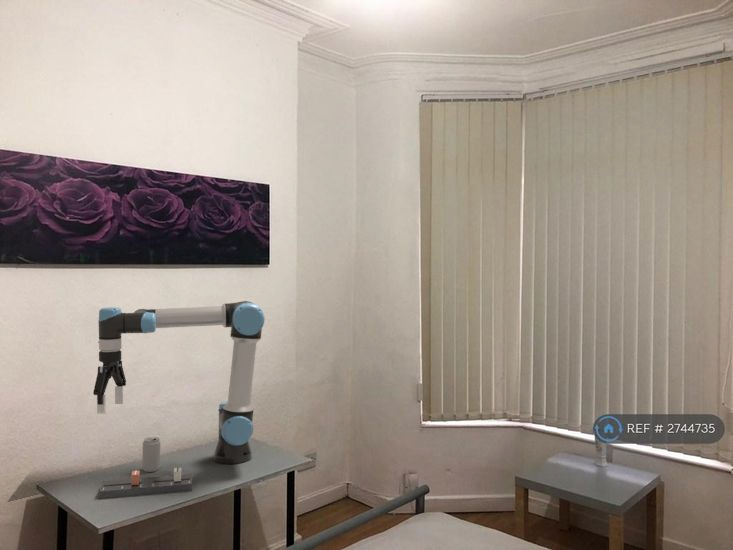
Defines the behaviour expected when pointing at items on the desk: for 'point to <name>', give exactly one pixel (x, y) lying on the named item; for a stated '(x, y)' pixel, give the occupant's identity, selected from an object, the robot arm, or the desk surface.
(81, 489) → the desk surface
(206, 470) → the desk surface
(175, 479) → the fader grey
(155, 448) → the beverage can
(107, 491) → the dark grey slider panel
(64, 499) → the desk surface
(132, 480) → the fader red
